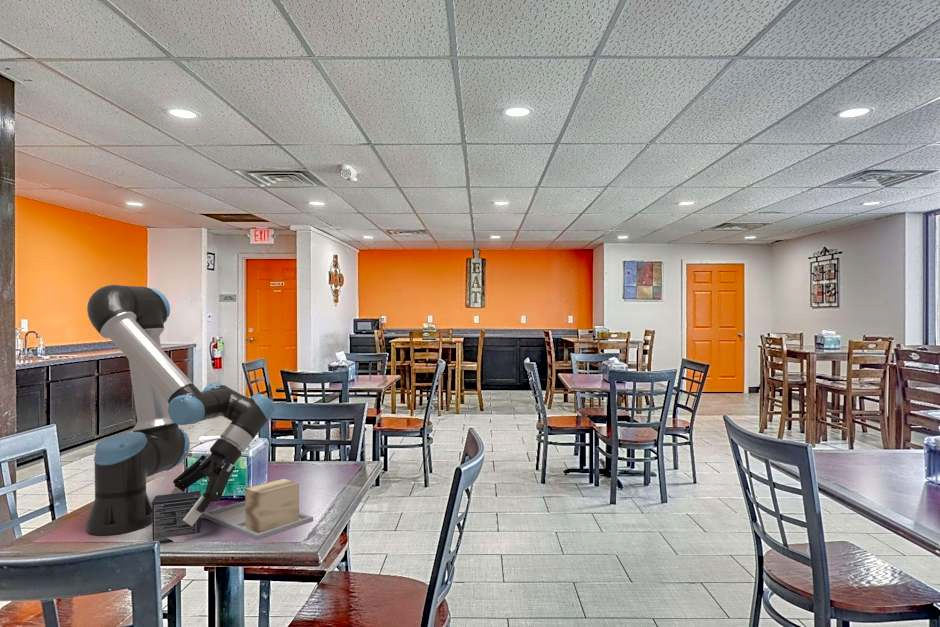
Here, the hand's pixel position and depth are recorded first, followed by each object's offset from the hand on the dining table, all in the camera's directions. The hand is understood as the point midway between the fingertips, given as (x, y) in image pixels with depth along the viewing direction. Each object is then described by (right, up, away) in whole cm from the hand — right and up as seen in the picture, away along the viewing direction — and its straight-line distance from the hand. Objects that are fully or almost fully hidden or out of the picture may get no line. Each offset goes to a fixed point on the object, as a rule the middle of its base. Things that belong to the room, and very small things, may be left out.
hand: (173, 517), depth 141 cm
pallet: (+17, -5, +10) cm, 20 cm away
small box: (0, -6, +1) cm, 6 cm away
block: (+23, -4, +5) cm, 24 cm away
